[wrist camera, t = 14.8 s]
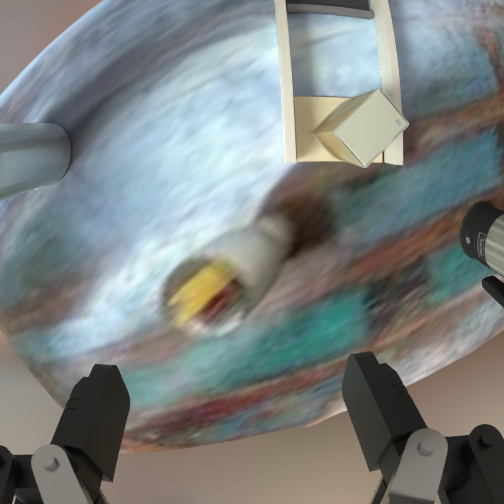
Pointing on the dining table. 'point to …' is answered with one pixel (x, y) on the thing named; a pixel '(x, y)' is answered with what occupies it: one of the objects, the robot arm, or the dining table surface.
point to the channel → (387, 71)
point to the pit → (331, 7)
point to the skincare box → (360, 128)
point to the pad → (314, 126)
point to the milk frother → (486, 243)
